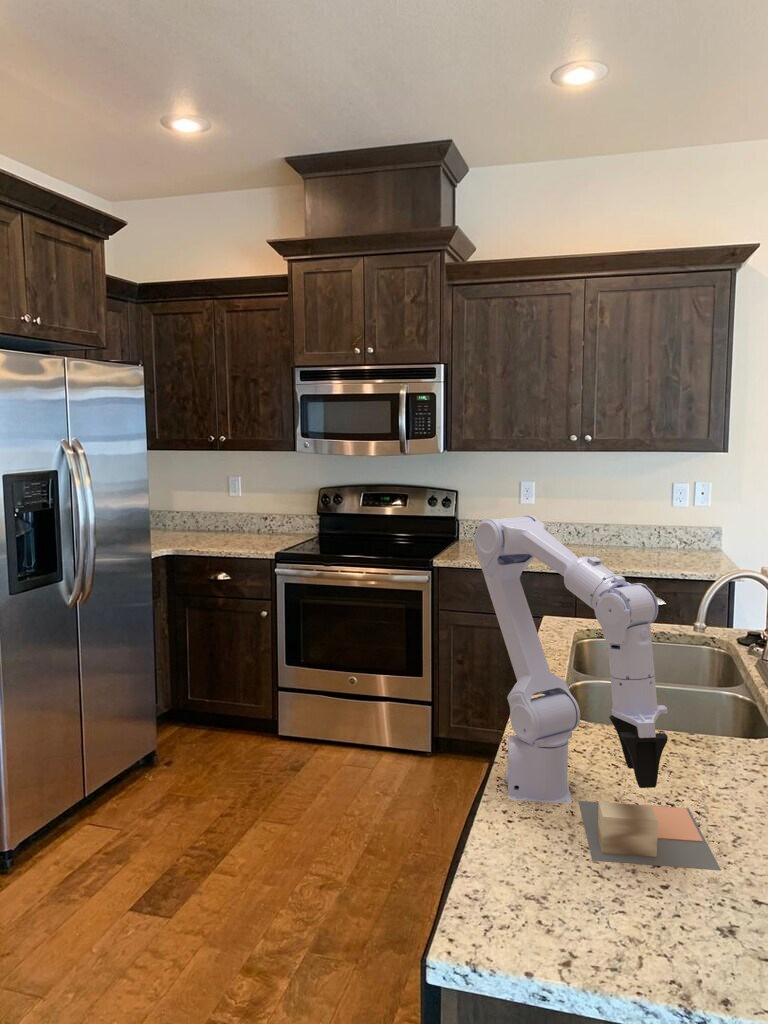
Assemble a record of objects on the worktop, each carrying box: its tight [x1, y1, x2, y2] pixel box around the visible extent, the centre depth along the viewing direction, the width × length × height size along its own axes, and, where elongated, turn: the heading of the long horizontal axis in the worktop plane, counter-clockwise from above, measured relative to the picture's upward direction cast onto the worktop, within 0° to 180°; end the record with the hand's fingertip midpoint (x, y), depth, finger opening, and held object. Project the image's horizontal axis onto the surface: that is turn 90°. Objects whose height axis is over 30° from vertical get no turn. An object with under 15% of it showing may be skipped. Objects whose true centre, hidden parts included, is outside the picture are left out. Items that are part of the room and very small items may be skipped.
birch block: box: [598, 801, 658, 857], centre depth 101 cm, size 7×4×5 cm, turn 82°
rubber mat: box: [578, 800, 722, 872], centre depth 104 cm, size 16×16×1 cm
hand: (641, 777), depth 100 cm, fingers open, 7 cm apart
